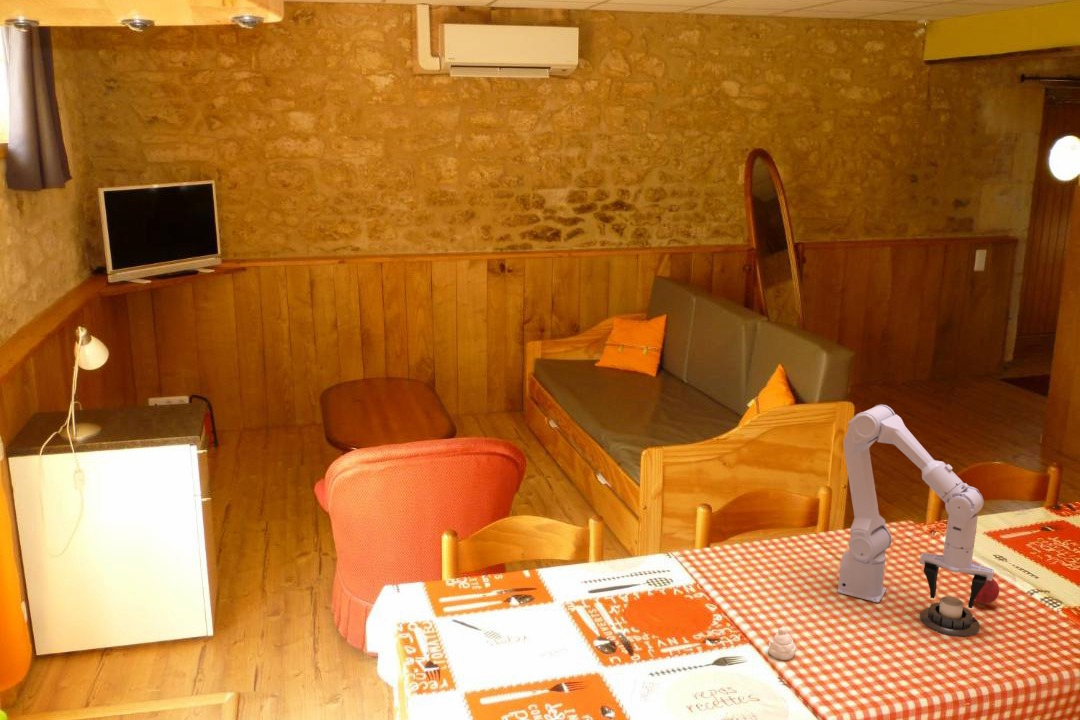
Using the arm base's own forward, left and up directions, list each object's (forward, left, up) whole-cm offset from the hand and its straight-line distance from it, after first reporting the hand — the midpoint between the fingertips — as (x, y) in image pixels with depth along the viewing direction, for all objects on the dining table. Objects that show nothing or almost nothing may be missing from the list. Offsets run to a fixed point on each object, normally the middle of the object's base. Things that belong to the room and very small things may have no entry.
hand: (951, 601), depth 208 cm
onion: (+5, +13, -5) cm, 15 cm away
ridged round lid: (0, 0, -5) cm, 5 cm away
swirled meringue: (-26, -33, -5) cm, 43 cm away
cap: (0, 0, -5) cm, 5 cm away
